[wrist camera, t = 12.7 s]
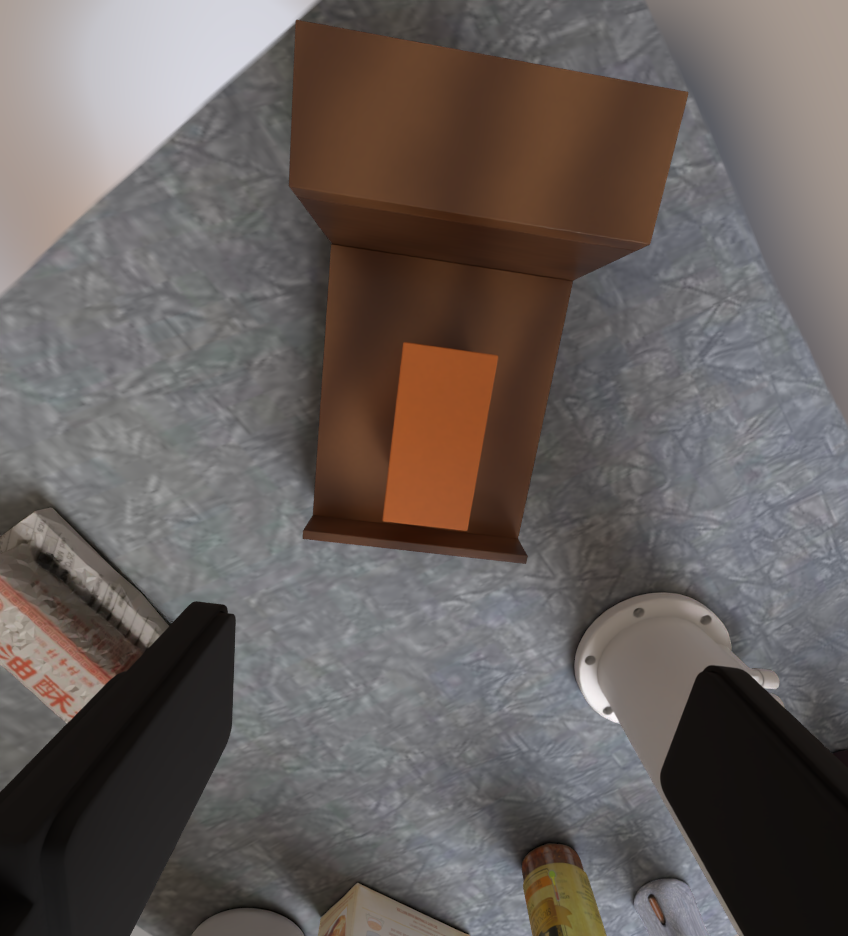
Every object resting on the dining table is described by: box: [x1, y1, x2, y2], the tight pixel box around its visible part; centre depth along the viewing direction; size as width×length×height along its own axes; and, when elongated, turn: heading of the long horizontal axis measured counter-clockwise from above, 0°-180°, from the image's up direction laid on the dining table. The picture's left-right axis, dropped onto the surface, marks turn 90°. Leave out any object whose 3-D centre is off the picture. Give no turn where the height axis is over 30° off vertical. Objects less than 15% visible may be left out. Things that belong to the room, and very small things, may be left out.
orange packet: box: [382, 342, 498, 531], centre depth 22 cm, size 4×8×8 cm, turn 172°
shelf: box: [289, 20, 688, 564], centre depth 22 cm, size 14×22×11 cm, turn 172°
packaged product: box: [0, 507, 169, 723], centre depth 30 cm, size 18×5×10 cm
